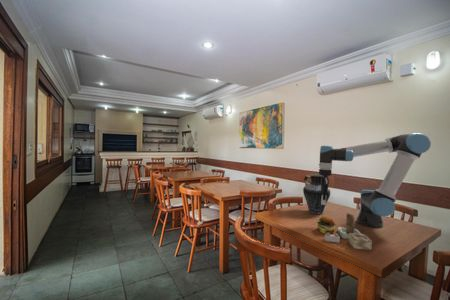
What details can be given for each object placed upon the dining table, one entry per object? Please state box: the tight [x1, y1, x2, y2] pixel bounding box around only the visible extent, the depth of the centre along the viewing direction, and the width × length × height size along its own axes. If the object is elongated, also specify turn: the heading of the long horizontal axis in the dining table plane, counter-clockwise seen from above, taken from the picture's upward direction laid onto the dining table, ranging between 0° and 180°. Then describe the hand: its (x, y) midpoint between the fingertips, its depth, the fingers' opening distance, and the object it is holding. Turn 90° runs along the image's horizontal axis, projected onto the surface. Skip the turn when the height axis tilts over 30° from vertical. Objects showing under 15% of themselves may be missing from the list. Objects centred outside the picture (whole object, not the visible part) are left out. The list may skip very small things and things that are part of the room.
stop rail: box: [324, 233, 341, 244], centre depth 121 cm, size 7×2×4 cm, turn 76°
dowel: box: [345, 212, 355, 234], centre depth 128 cm, size 4×4×12 cm
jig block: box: [348, 233, 373, 251], centre depth 116 cm, size 8×8×5 cm
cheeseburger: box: [316, 215, 336, 235], centre depth 134 cm, size 10×11×10 cm
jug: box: [302, 173, 331, 215], centre depth 171 cm, size 21×19×30 cm
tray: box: [337, 226, 362, 240], centre depth 128 cm, size 11×11×2 cm
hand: (323, 204), depth 145 cm, fingers closed
